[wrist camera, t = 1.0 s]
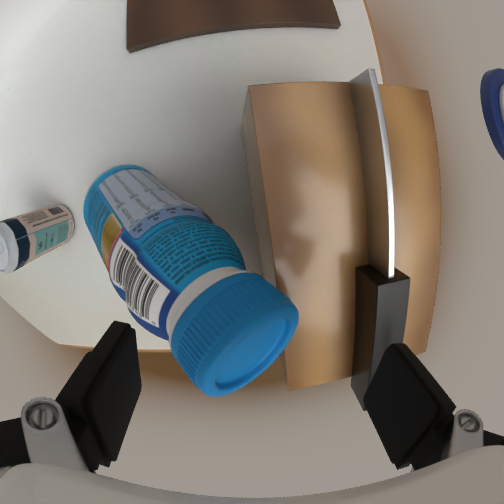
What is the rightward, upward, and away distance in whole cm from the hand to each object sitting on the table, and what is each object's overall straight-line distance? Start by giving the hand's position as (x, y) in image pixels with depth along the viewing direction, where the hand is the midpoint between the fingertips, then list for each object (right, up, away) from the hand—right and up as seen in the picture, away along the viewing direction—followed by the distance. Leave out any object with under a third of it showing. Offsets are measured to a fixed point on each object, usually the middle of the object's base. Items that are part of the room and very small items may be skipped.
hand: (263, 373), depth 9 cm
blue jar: (-13, +9, +16) cm, 23 cm away
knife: (+7, +5, +7) cm, 10 cm away
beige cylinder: (-23, +8, +18) cm, 31 cm away
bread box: (+6, +8, +20) cm, 22 cm away
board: (-3, +36, +11) cm, 38 cm away
